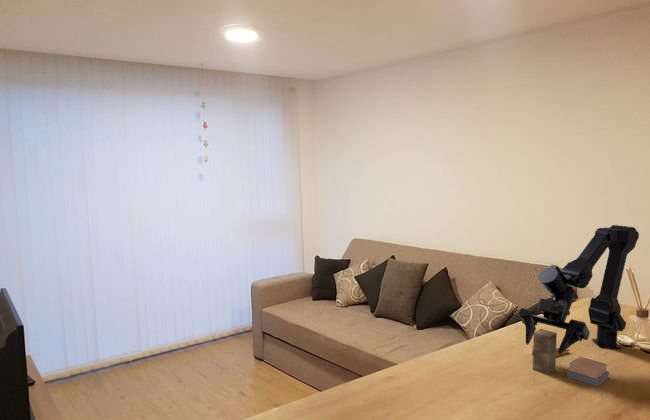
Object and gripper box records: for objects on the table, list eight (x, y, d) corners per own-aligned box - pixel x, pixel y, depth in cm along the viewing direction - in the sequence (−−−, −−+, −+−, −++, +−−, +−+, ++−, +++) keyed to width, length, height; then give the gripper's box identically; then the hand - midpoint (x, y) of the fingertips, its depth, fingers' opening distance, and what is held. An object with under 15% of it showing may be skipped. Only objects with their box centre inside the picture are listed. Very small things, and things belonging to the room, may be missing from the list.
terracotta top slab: (569, 370, 131) (569, 363, 131) (579, 363, 136) (579, 356, 136) (596, 379, 126) (596, 371, 126) (606, 371, 131) (606, 363, 130)
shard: (569, 354, 148) (570, 348, 148) (570, 363, 141) (571, 357, 141) (532, 348, 152) (532, 343, 152) (531, 357, 145) (531, 352, 145)
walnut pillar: (532, 369, 136) (533, 332, 135) (539, 364, 139) (540, 328, 138) (548, 374, 133) (549, 336, 132) (555, 369, 136) (556, 332, 135)
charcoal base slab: (566, 378, 132) (566, 371, 131) (577, 369, 137) (578, 362, 137) (597, 388, 126) (598, 380, 125) (608, 379, 131) (608, 371, 131)
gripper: (521, 281, 143) (502, 325, 137) (587, 294, 129) (569, 343, 123) (532, 301, 149) (514, 344, 143) (596, 315, 135) (580, 363, 129)
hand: (542, 348), depth 135 cm, fingers open, 9 cm apart
